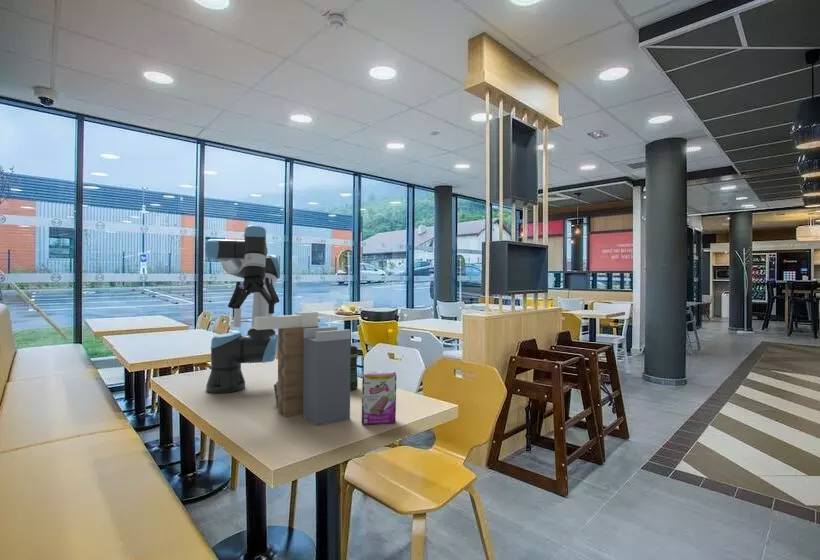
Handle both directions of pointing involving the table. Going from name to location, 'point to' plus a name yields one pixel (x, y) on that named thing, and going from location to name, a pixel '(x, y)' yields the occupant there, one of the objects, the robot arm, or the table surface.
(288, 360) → the tall wooden block stack
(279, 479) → the table surface
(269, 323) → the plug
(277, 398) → the electrical switch
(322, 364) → the socket block
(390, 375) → the candy bar box
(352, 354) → the coffee jar
